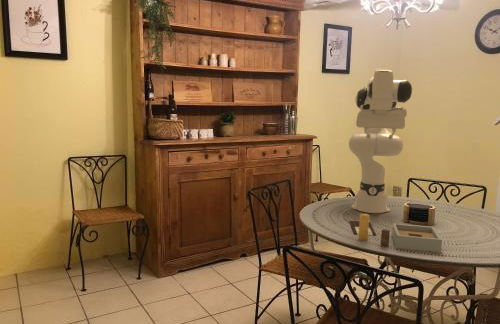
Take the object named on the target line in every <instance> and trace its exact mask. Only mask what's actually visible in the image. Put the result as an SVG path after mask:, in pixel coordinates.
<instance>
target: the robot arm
mask: <svg viewBox="0 0 500 324" xmlns="http://www.w3.org/2000/svg"><path fill="white" fill-rule="evenodd" d="M412 93H413V86H412V84H411V82H410V81H409V80H407V79H401V80H398V79H394V72H393V70H391V69H376V70H375V71H374V74H373V76H372V77H370V78H369V80H368V82H367V87H366V86H363V88H360V90H358V91H357V93H356V95H355V99H354V100H355V105H356V106H357V108H358V109H360V110H359V112H358V113H357V115H356V122H355V124H356V125H355V126H356V127H357V128H363V130H364V132H359V133H354V134H352V135H351V137H350V138H349V141H348V147H349V148H348V149H349V150H350V152H351V153H352V154H353V155H355V156H356V157H357V159H358V161H359V163H360V166H361V167H360V168H361V179H360V180H361V181H360V183H359V190H358V191H357V192H356V193H355V202H354V203H353V204H352V205H351V209H354V210H356V211H357V210H358V211H359V212H364V213H369V214H384V213H387V212H388V213H389V212H390V211H391V209H390V208H389V207H388V206H387V204H388V194H386V193H385V188H386V183H385V176H386V174H385V173H386V170H385V166H383V165H382V164H381V163H379V162H377V161H376V160H374V158H373V157H375V156H376V157H378V156H379V157H395V156H399V155H400V154H401V152H402V150H403V148H404V144H403V143H404V142H403V139H402V138H401V136H398V135H396V134H395V133H396V132H397V130H403V129H405V127H406V117H407V109H406V108H404V107H403V106H400V107H399V106H398V107H397V104H398V103H403V104H404V103H406V102H408V100H410V99H411V97H412V95H413V94H412ZM388 129H391V130H392V132H391V131H390V130H388Z"/></svg>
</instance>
